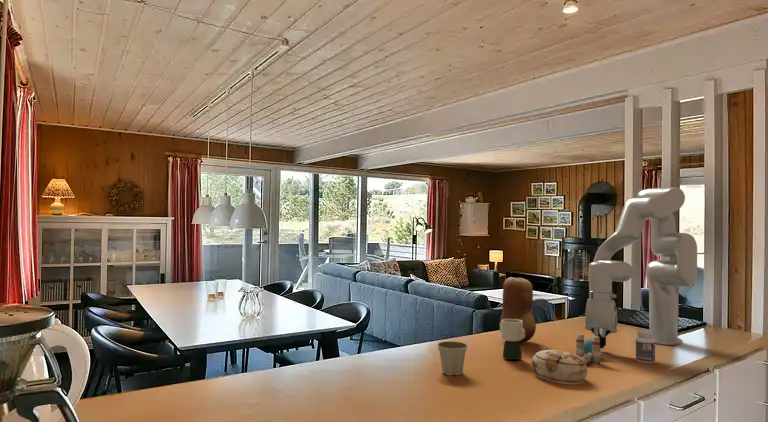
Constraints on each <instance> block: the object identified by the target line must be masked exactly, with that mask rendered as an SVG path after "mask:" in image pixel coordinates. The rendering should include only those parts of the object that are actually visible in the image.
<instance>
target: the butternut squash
mask: <svg viewBox="0 0 768 422" xmlns="http://www.w3.org/2000/svg"><path fill="white" fill-rule="evenodd" d="M502 290H503V291H502V312H501V315H500V319H499V323H498V324H499V326H500V324H501V320H503V319H518V320H522V321H523V329H525V338H522V340H520V341H519V343H520V345H521V344H523V343H527V342H528V341H530V340H531V339H532V338H534V335H535V333H536V329H537V326H536V325H537V323H536V319H535V318H534V317H535V316H534V315H533V313H532V312H533V311H532V307H533V301H534V293H533V292H534V289H533V284H532V282H531V281H529V280H528V279H525V278H523V277H512V276H510V277H507V278H506V279H505V280H504V282H503V284H502Z"/></svg>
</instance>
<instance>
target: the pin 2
mask: <svg viewBox="0 0 768 422" xmlns="http://www.w3.org/2000/svg"><path fill="white" fill-rule="evenodd" d="M591 339H592V360H591V363H592V364H595V365H597V364H598V365H599V364H601V355H600V354H601V353H600V352H601V348H600V337H598V336H595V335H592V336H591Z"/></svg>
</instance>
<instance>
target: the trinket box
mask: <svg viewBox="0 0 768 422" xmlns="http://www.w3.org/2000/svg"><path fill="white" fill-rule="evenodd" d="M531 369H532V370H533V373H534V375H535V376H536V377H538V378H541V379H543V380H546V381H548V382H553V383H557V384H563V383H564V385H581V383H582V384H584V383H583V382H585V379H586V378H587V375H588V367H587V364H585V363H584V360H583V359H582V358H580V357H578V356H576V354H574V353H571V352H568V351H564V350H560V349H559V350H558V349H544V350H540V351H538V352H535V354H534V355H533V356H532V359H531Z"/></svg>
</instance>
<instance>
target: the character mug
mask: <svg viewBox="0 0 768 422" xmlns="http://www.w3.org/2000/svg"><path fill="white" fill-rule="evenodd" d="M499 332H500V335H501V339H502V340H504V343H503V350H502V351H503V352H502V357H503V359H506V360H515V361H517V360H521V359H522V355H523V354H522V348H521V344H520V343H519V341H520V340H522V338H525V329H523V321H522V320H518V319H503V320H501V324H500V325H499Z"/></svg>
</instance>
